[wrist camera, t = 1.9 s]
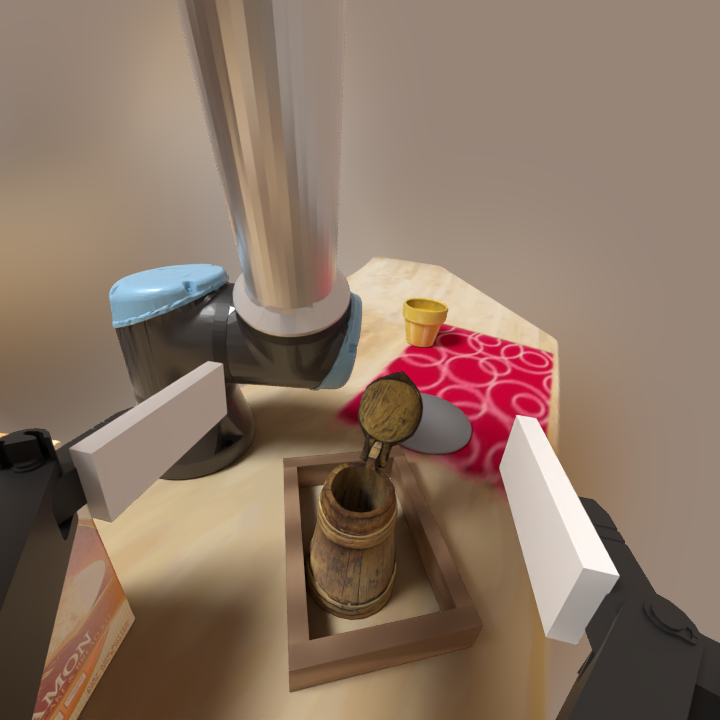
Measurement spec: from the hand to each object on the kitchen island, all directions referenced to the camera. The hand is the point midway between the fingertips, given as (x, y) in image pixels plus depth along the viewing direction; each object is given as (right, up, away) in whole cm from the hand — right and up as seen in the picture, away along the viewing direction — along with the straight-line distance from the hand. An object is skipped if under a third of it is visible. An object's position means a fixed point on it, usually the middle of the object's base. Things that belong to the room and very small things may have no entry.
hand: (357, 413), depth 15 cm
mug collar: (0, -17, +20) cm, 26 cm away
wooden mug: (0, -17, +20) cm, 26 cm away
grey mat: (+11, -8, +40) cm, 42 cm away
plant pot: (+15, +7, +68) cm, 70 cm away
